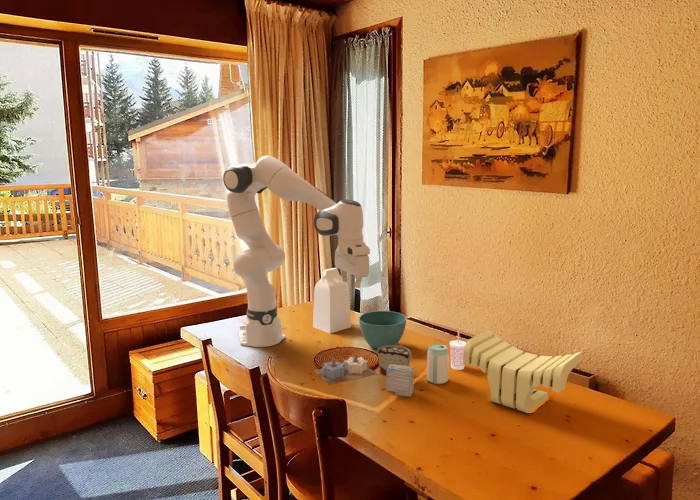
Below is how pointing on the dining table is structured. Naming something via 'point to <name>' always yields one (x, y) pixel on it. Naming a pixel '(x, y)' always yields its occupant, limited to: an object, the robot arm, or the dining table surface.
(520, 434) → the dining table surface
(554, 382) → the slatted curved stool
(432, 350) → the can
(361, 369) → the cream gear
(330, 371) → the blue gear
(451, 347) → the beverage cup
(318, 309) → the milk
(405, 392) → the medicine box
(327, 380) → the gear board
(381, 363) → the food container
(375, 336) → the teal bowl
